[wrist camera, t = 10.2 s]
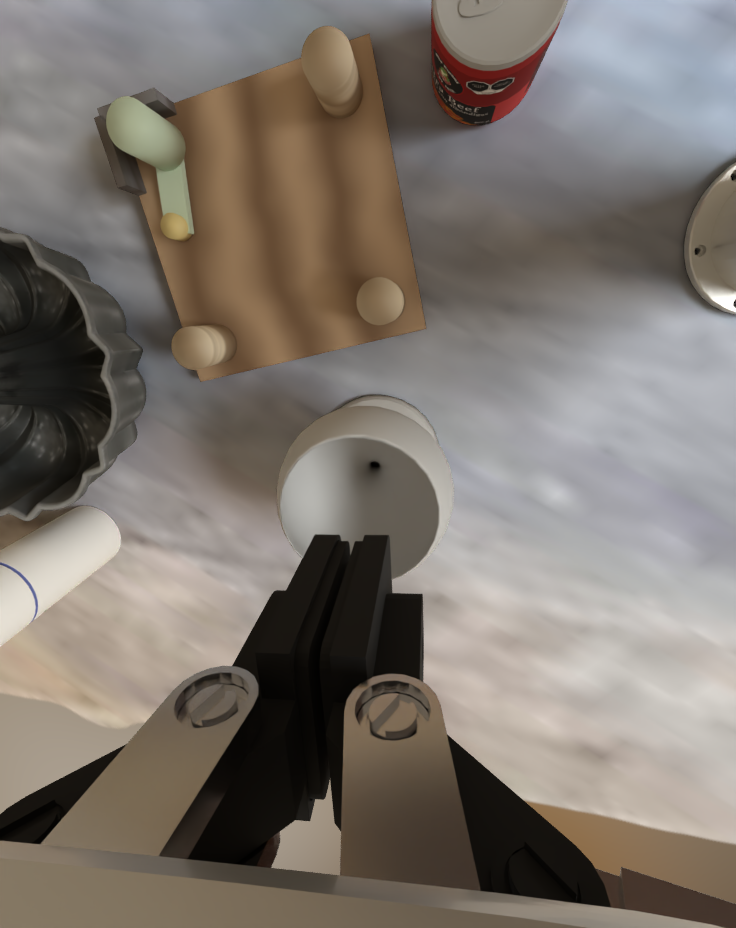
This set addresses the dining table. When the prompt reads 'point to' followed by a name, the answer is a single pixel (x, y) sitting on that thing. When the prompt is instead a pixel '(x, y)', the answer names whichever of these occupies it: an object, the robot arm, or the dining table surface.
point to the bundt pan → (60, 379)
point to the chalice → (368, 481)
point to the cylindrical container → (52, 564)
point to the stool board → (283, 213)
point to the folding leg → (155, 158)
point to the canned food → (488, 53)
